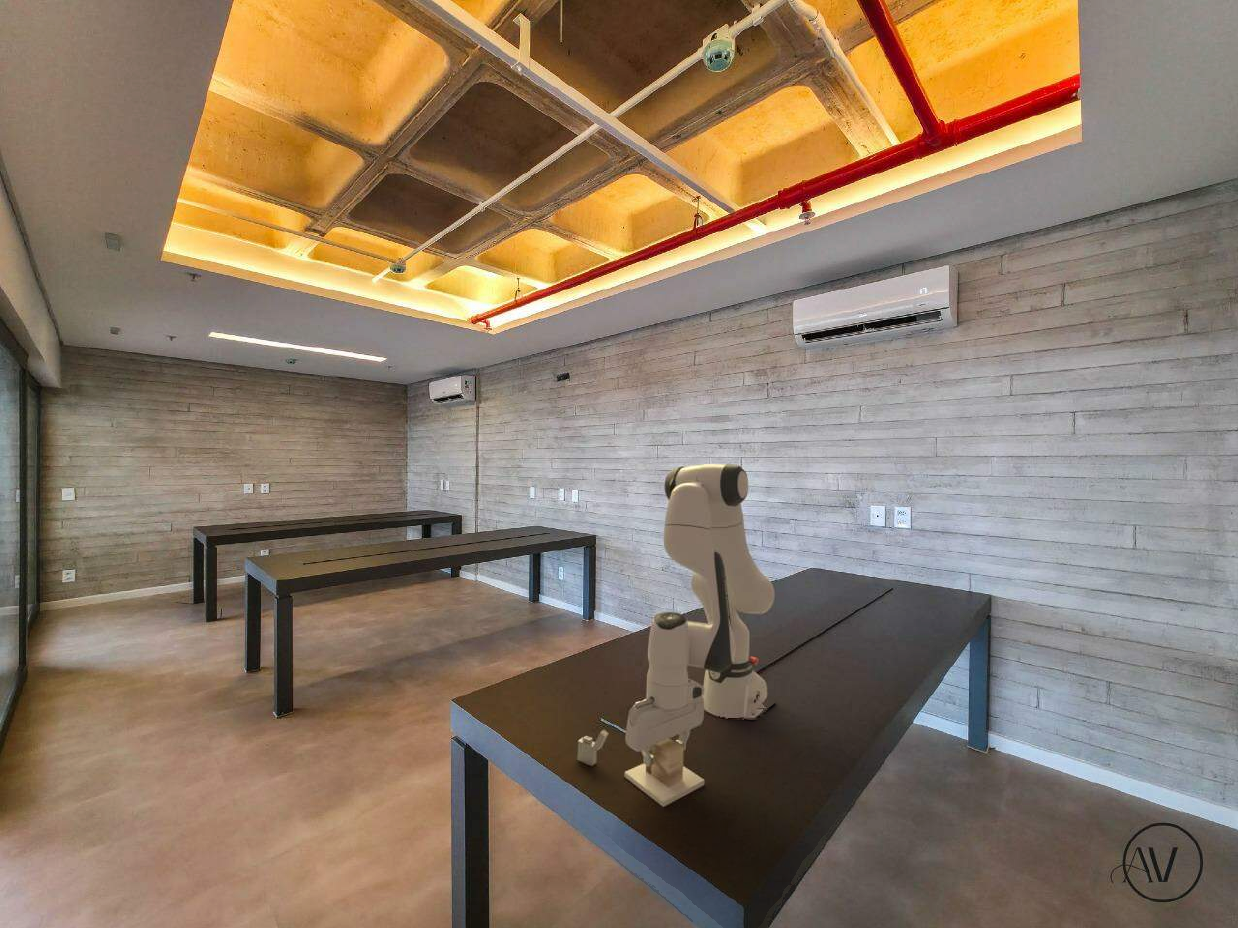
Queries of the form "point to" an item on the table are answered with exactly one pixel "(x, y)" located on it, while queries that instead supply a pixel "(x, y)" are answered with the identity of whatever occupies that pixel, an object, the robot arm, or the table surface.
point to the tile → (660, 790)
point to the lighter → (590, 748)
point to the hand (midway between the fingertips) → (664, 756)
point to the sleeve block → (667, 762)
